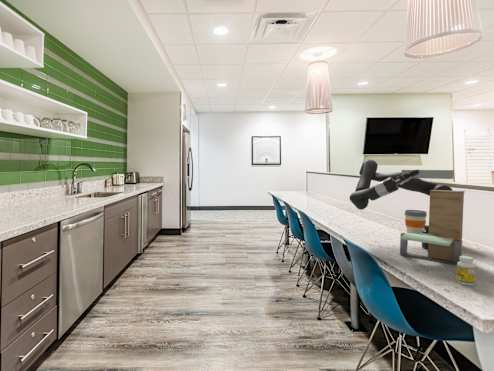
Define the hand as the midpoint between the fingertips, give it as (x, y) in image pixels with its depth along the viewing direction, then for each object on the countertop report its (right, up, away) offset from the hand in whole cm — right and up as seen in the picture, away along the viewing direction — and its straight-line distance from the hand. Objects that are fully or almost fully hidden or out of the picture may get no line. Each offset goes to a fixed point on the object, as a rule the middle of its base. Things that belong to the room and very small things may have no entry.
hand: (419, 171), depth 139 cm
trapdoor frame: (+1, -42, -7) cm, 42 cm away
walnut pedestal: (+9, -41, -5) cm, 43 cm away
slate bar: (+2, -3, -2) cm, 5 cm away
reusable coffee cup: (+26, -39, +48) cm, 67 cm away
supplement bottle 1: (+13, -41, +13) cm, 45 cm away
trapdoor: (-4, -31, -12) cm, 34 cm away
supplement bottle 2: (-4, -43, -34) cm, 55 cm away
